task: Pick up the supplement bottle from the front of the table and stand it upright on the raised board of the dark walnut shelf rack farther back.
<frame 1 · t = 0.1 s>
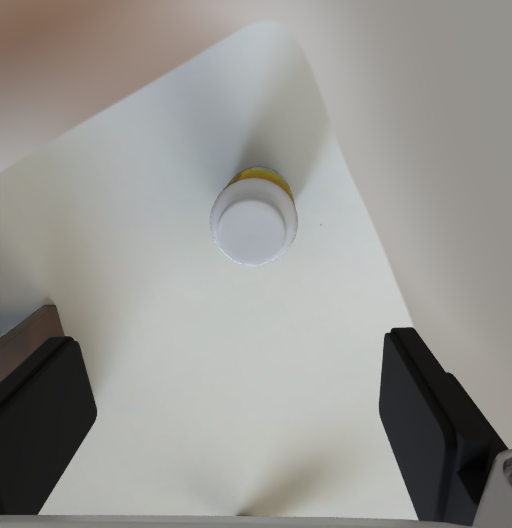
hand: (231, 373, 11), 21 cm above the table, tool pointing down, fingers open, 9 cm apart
supplement bottle: (258, 200, 30), on the table
shelf: (17, 366, 37), on the table
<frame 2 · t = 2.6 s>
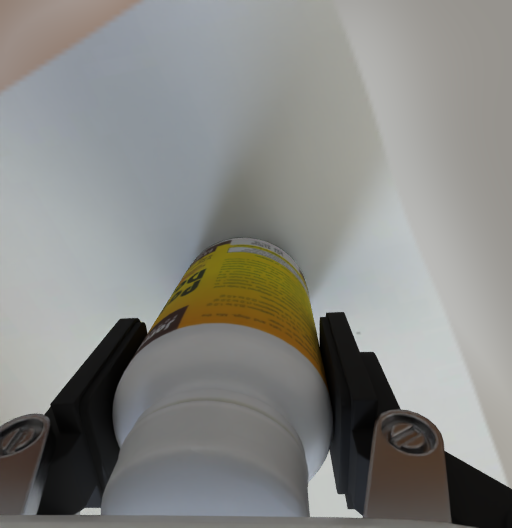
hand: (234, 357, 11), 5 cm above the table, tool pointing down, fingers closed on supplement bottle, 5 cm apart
supplement bottle: (245, 290, 16), on the table, touching gripper
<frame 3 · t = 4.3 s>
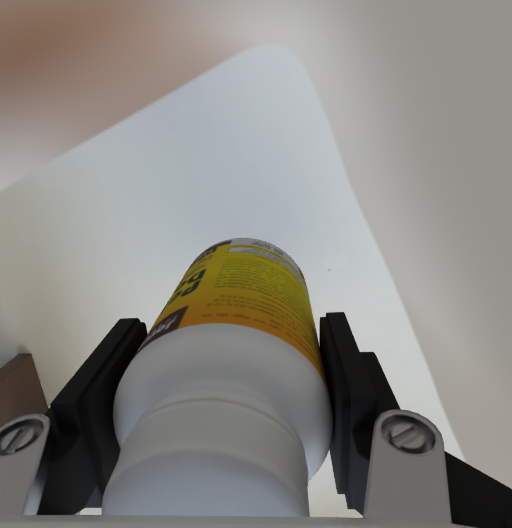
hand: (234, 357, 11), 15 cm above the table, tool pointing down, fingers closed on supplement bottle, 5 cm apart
supplement bottle: (245, 290, 16), point 10 cm above the table, touching gripper
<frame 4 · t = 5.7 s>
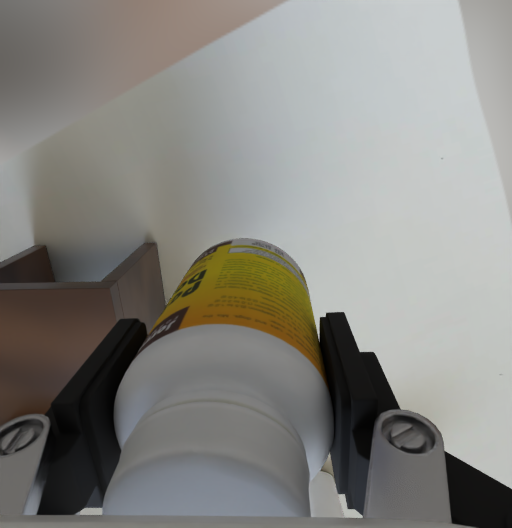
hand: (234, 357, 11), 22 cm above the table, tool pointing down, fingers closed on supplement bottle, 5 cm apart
cup: (319, 479, 43), on the table
supplement bottle: (246, 291, 16), point 17 cm above the table, touching gripper
shelf: (108, 309, 36), on the table
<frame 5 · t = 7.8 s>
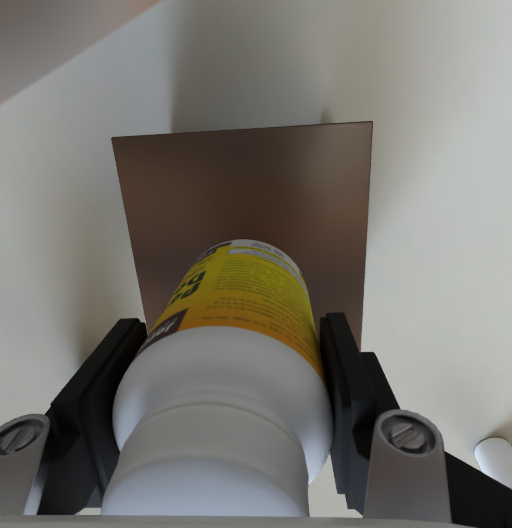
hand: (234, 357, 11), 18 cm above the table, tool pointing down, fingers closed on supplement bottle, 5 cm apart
cup: (490, 448, 35), on the table
supplement bottle: (245, 292, 16), point 13 cm above the table, touching gripper
shelf: (257, 224, 28), on the table
when the fingers open (15 cm above the table, at t = 9.0 s): supplement bottle stays where it is, resting on shelf.
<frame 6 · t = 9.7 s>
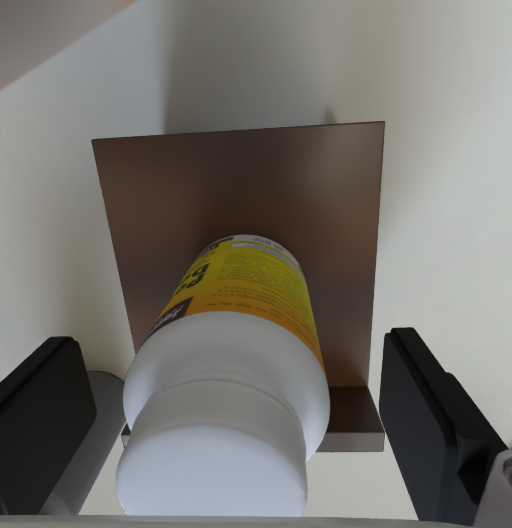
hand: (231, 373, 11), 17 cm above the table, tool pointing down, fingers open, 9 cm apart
bottle: (103, 395, 33), on the table
supplement bottle: (246, 286, 17), point 10 cm above the table, touching shelf
shelf: (255, 231, 26), on the table
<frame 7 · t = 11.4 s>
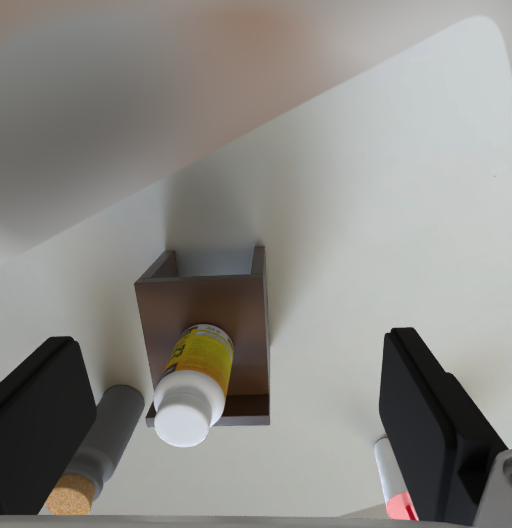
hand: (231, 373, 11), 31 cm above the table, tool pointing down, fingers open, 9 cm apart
cup: (385, 445, 51), on the table
bottle: (125, 400, 50), on the table
supplement bottle: (206, 345, 35), point 10 cm above the table, touching shelf
shelf: (219, 301, 44), on the table
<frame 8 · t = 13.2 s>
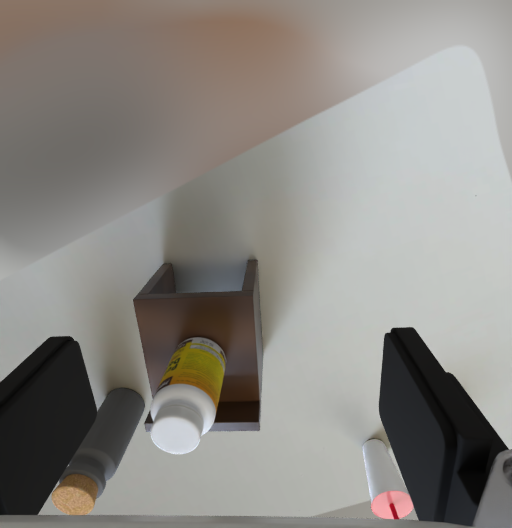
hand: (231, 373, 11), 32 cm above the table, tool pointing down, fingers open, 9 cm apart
cup: (373, 446, 54), on the table
bottle: (126, 402, 53), on the table
supplement bottle: (200, 356, 37), point 10 cm above the table, touching shelf
shelf: (215, 311, 47), on the table
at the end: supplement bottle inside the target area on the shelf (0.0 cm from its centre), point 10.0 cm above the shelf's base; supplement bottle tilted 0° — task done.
